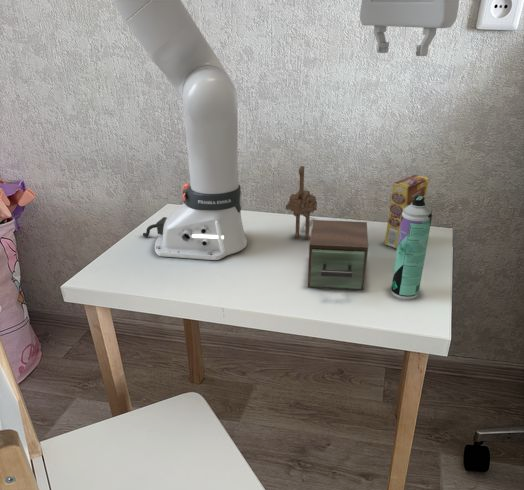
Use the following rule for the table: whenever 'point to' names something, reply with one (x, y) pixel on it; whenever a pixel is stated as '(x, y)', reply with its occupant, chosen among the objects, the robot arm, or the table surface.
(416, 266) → the spray can
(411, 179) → the candy box
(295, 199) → the ostrich figurine
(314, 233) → the cabinet
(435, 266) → the table surface
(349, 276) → the cabinet drawer
